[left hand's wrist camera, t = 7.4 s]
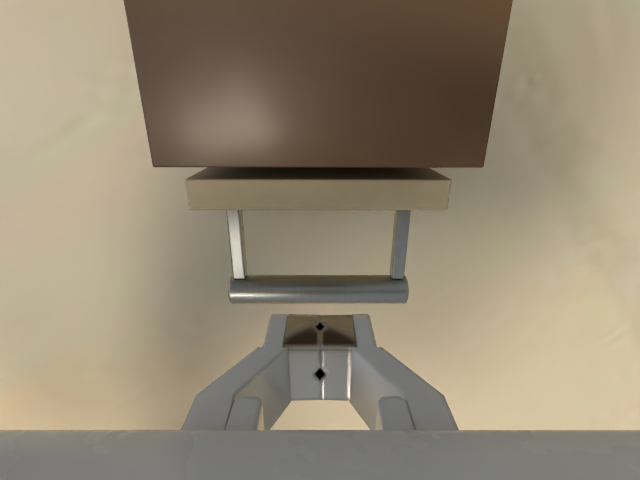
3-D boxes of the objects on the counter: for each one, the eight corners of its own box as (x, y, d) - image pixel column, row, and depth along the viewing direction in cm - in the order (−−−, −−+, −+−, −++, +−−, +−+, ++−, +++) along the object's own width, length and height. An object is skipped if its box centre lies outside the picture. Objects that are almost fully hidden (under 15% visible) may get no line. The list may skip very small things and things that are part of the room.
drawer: (387, 246, 24) (430, 332, 15) (249, 246, 24) (206, 332, 15) (425, -219, 16) (577, -688, 6) (212, -221, 16) (58, -691, 6)
